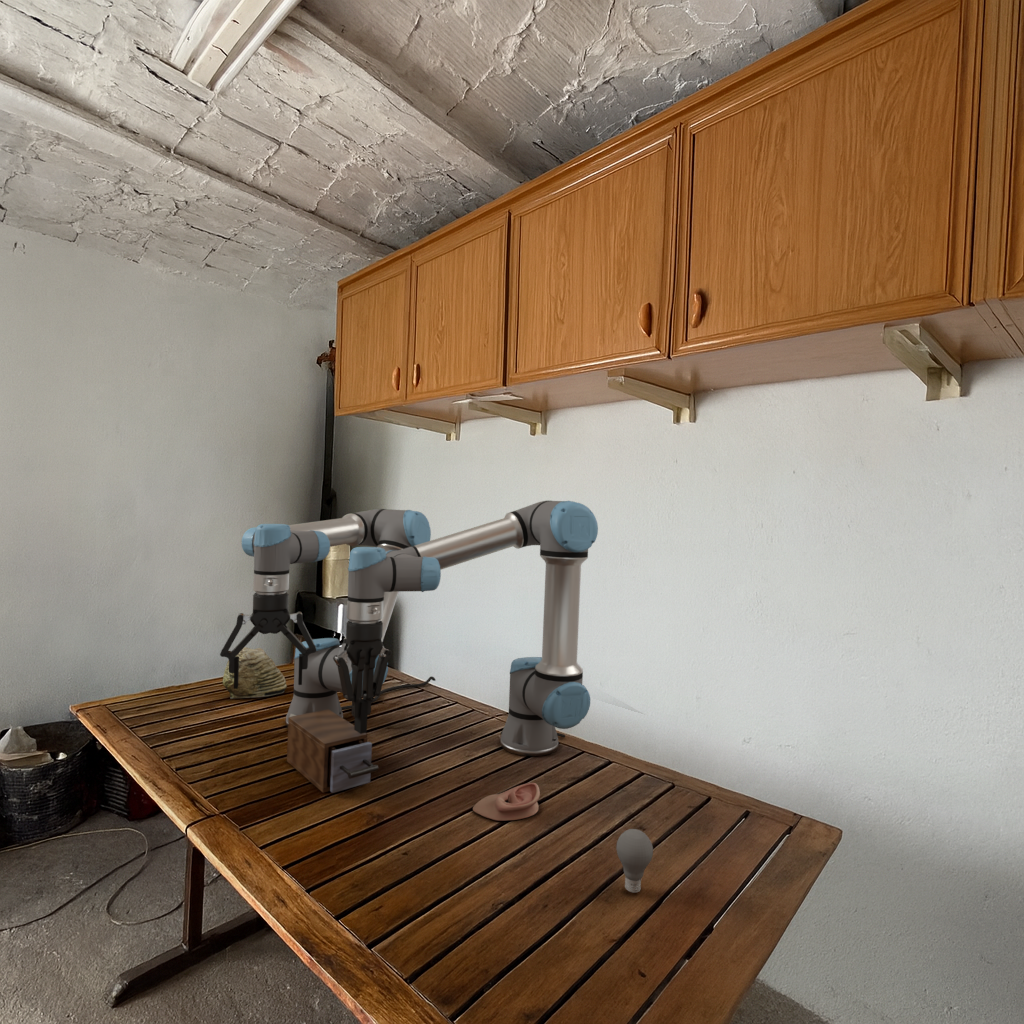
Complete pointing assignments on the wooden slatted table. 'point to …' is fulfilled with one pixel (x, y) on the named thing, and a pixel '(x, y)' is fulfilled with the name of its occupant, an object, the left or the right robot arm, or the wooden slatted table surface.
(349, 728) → the cabinet
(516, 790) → the anatomical model
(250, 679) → the fossil
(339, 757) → the drawer
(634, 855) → the light bulb
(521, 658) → the right robot arm
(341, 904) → the wooden slatted table surface
